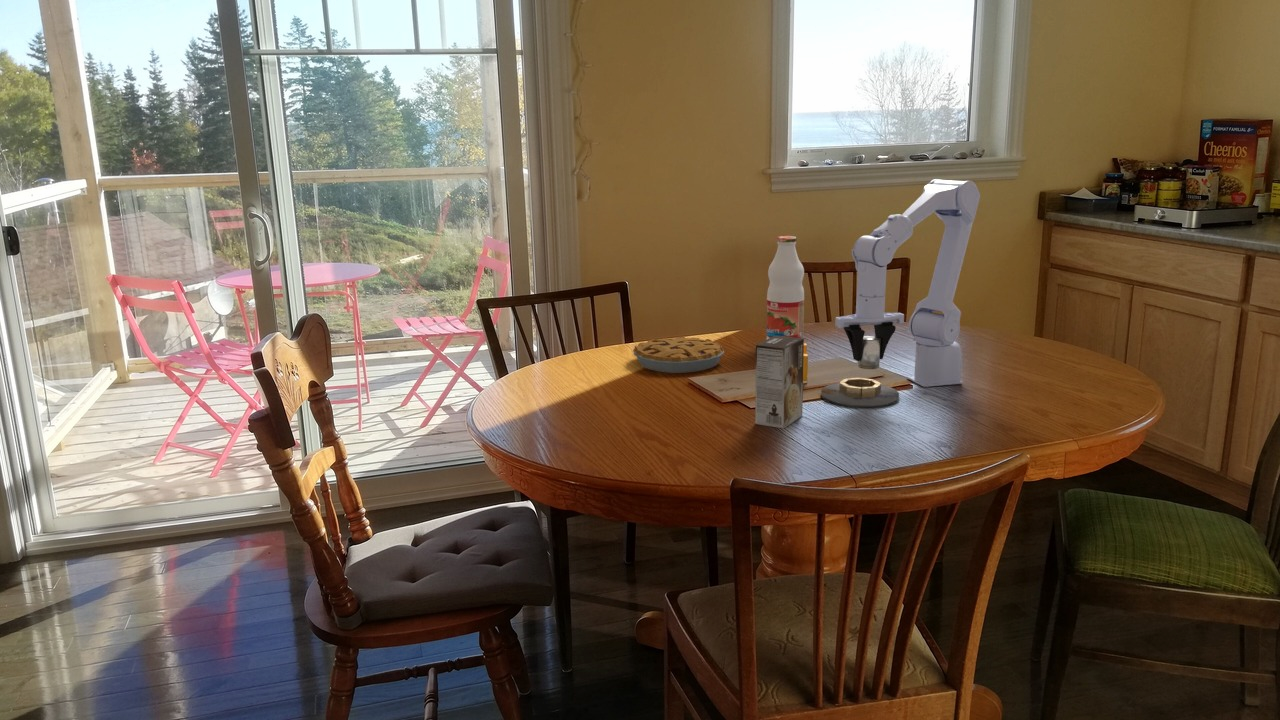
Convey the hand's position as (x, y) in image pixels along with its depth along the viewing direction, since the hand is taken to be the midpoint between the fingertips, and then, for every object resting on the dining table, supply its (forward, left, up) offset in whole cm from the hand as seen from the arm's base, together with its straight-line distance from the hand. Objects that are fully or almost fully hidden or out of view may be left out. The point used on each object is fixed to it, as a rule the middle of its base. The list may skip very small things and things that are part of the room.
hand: (868, 359), depth 200 cm
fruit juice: (-1, -49, -9) cm, 50 cm away
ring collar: (+1, -1, -8) cm, 9 cm away
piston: (0, 0, -2) cm, 2 cm away
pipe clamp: (+7, -20, -9) cm, 23 cm away
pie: (+30, -40, -9) cm, 51 cm away
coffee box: (+23, +9, -9) cm, 26 cm away
